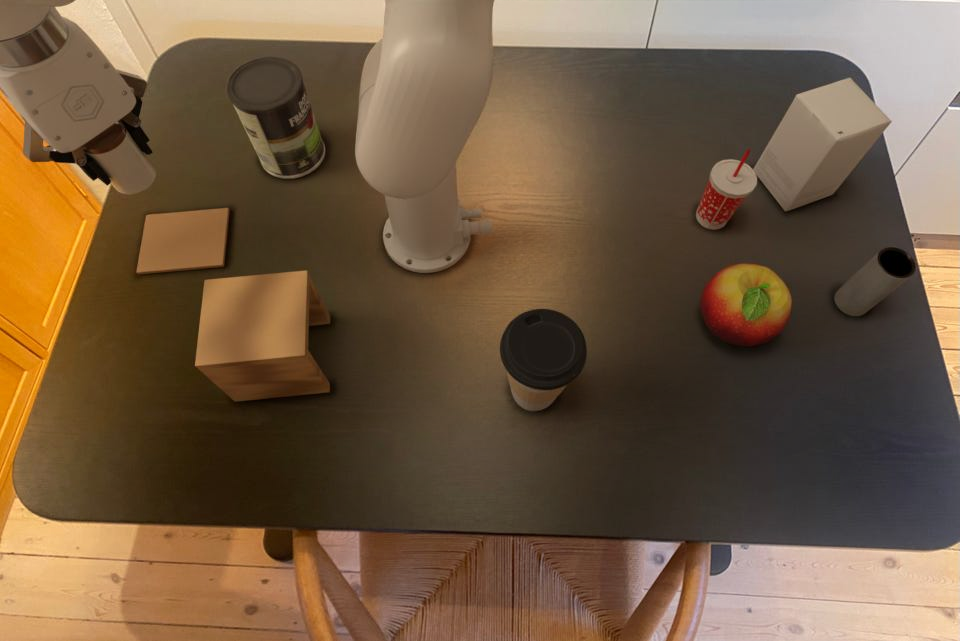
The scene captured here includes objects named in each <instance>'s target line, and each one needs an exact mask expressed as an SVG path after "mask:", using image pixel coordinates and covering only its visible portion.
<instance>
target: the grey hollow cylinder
mask: <svg viewBox="0 0 960 641" xmlns="http://www.w3.org/2000/svg"><path fill="white" fill-rule="evenodd" d="M916 269H917V265H916V261H915V260H914V258H913V257H912V255H911V254H909V252H907V251H906V250H904V249H902V248H899V247H897V246H896V247H894V246H887V247H883V248H882V249H880V250H879V251H878V252H877V253H875V255H874V256H872V258H870V260H868V261H867V262H866V263H865V264H864V265H863V266H861V267H860V269H859V270H858V271H857V272H855V273H854V274H853V275H852V276H851V277H850V278H849V279H847V281H846V282H844V284H842V285H841V286H840V287H839V288H838V289H837V291H835V293H834V296H833V299H834V304H835V306H836V307H837V309H838V310H840V311H841V312H842V313H843V314H845V315H848V316H850V317H861V316H863V315H865V314H866V313H867V312H869V311H870V310H871V309H873V308H874V307H875V306H876V305H877V304H879V303H880V302H881V301H882V300H884V299H886V297H888V296H889V295H890V294H892V293H893V292H894V291H895V290H896V289H898V288H899V287H900V286H901V285H903V283H905V282H906V281H907V280H909V279H910V278H911V277H912V276H913V275H914V274H915V272H916Z"/></svg>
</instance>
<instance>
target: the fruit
mask: <svg viewBox="0 0 960 641" xmlns="http://www.w3.org/2000/svg"><path fill="white" fill-rule="evenodd" d="M700 297H701V298H700V302H699V304H700V312H701V317H702V319H703V322H704V323H705V326H706V327H707V328H708V330H710V332H711V333H712V334H713V335H714V336H715V337H716V338H719V339H720V340H721V341H723V342H725V343H726V344H731V345H733V346H737V347H755V346H759V345H762V344H765V343H767V342H769V341H770V340H772V339H773V338H774V337H776V336H778V335H779V334H780V333H781V331H783V328H784V327H785V326H786V324H787V323H788V322H789V319H790V315H791V311H792V304H793V299H792V295H791V292H790V289H789V288H788V286H787V285H786V283H785V281H784V280H783V279H782V278H781V277H780V276H779V275H778V274H777V273H776V272H775V271H773V270H772V269H771V268H769V267H768V266H763V265H760V264H756V263H738V264H734V265H733V264H732V265H729V266H727V267H725V268H723V269H721V270H720V271H718V272H716V273H715V274H713V276H711V278H710V279H709V280H708V282H707V283H706V285H705V286H704V288H703V291H702V294H701V296H700Z"/></svg>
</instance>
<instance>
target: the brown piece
mask: <svg viewBox="0 0 960 641" xmlns="http://www.w3.org/2000/svg"><path fill="white" fill-rule="evenodd" d="M319 293H320V292H319V291H318V289H317V286H316V285H315V283H314V280H313V279H312V277H311V275H310V273H309V271H308V270H296V271H285V272H277V273H276V272H275V273H265V274H264V273H263V274H252V275H241V276H232V277H231V276H230V277H220V278H210V279H204V282H203V290H202V301H201V309H200V318H199V326H198V335H197V343H196V344H197V345H196V353H195V361H194V362H195V364H194V366H195V368H197V369H198V370H199V371H200V372H201V373H202V374H203V375H204V376H205V377H206V378H208V379H209V380H210V381H211V382H212V383H213V384H214V385H215V386H217V388H219V389H220V390H221V391H222V392H223V393H225V394H226V395H227V396H228V397H229V398H230V399H231V400H232V401H233V402H234V403H236V402H244V401H246V402H247V401H256V400H265V399H267V400H268V399H275V398H276V399H277V398H286V397H287V398H288V397H296V396H306V395H315V394H324V393H331V384H330V381H329V380H328V378H327V377H326V375H325V373H324V372H323V371H322V369H321V368H320V366H319V364H318V363H317V361H316V360H315V359H314V357H313V355H312V354H311V352H310V351H309V327H310V326H321V325H330V324H331V315H330V313H329V311H328V309H327V307H326V305H325V303H324V301H323V299H322V297H321V295H320V294H319Z"/></svg>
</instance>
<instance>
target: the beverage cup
mask: <svg viewBox="0 0 960 641" xmlns="http://www.w3.org/2000/svg"><path fill="white" fill-rule="evenodd" d="M751 152H752V150H751V149H750V148H747V149H746V151H745V153H744V155H743V156H742V158H741V160H738V159H732V158H729V159H721V160H720V161H718V162H716V163H715V164H714V165H713V167H712V169H710V173H709V180H708V182H707V185H706V186H705V189H704V192H703V194H702V197H701V198H700V201H699V204H698V206H697V209H696V212H695V217H696V221H697V222H698V224H700V225H701V227H703V228H706V229H708V230H714V231H715V230H720V229H722V228H724V227H725V226H726V225H727V223H728V222H729V221H730V220H731V218H732V216H733V215H734V214H735V212H736V211H737V210H738V208H739V207H740V206H741V204H743V202H744V200H745V199H746V197H747V196H749V195H751V193H752V192H753V191H754V190H755V188H756V187H757V184H758V176H757V175H756V174H755V172H754V170H753V169H754V168H753V167H751V166H750V165H749V164H748V163H746V160H747V159H748V157H749V155H750V153H751Z"/></svg>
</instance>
